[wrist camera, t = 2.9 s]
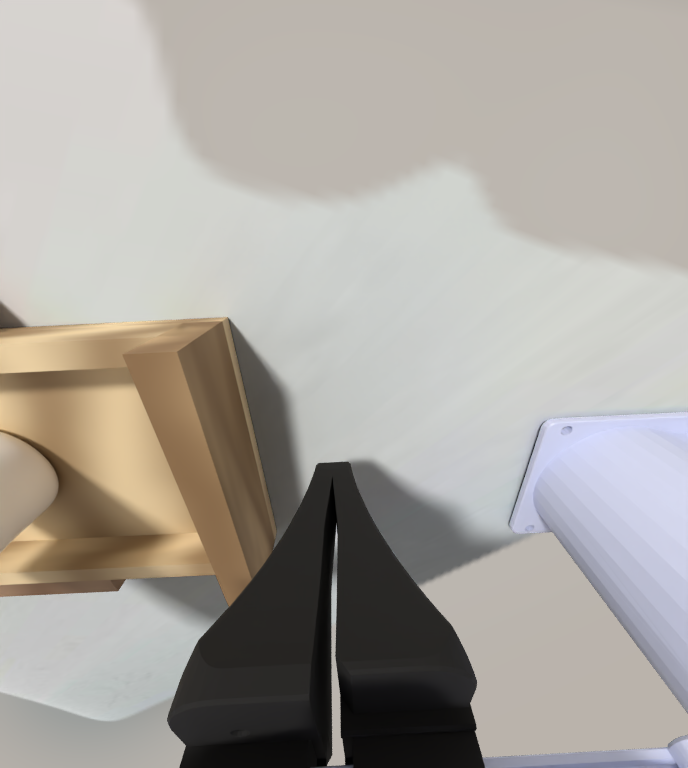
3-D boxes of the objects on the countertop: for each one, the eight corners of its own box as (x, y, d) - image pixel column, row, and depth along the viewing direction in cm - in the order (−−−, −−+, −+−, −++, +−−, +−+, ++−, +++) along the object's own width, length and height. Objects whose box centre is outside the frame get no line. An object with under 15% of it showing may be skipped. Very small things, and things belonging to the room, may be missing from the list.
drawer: (227, 317, 11) (176, 351, 8) (276, 531, 17) (260, 607, 14) (-220, 339, 11) (-479, 383, 8) (-19, 545, 17) (-113, 625, 14)
